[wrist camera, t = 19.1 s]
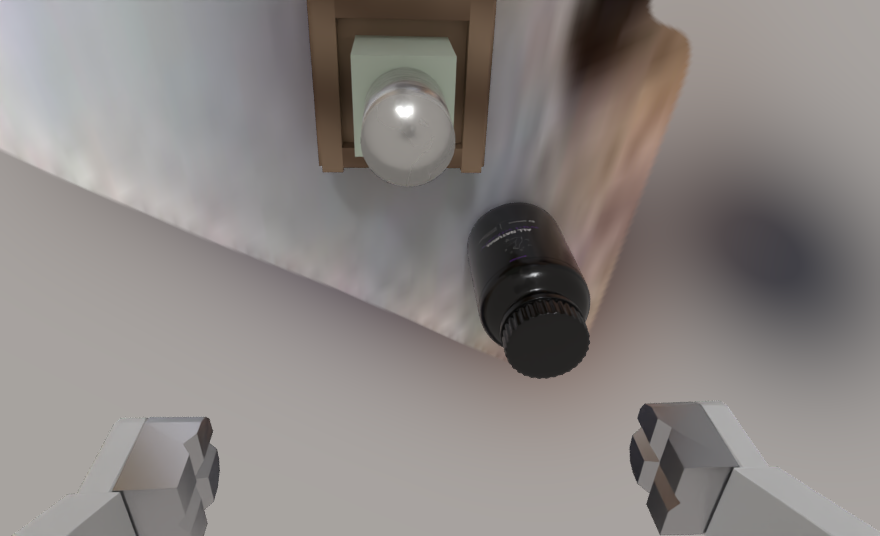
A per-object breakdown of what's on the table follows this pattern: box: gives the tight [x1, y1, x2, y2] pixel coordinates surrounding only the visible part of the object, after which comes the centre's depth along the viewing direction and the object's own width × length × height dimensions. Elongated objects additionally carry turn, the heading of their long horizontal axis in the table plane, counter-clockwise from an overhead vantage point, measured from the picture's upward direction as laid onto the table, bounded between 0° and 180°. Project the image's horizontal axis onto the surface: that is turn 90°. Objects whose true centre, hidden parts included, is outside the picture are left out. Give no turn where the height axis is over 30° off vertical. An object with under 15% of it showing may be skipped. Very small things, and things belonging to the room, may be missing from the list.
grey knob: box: [361, 67, 455, 187], centre depth 27 cm, size 4×4×5 cm
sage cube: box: [351, 35, 457, 157], centre depth 31 cm, size 5×5×5 cm
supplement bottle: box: [467, 203, 590, 379], centre depth 38 cm, size 7×7×12 cm
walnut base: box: [307, 0, 497, 173], centre depth 34 cm, size 10×10×4 cm
